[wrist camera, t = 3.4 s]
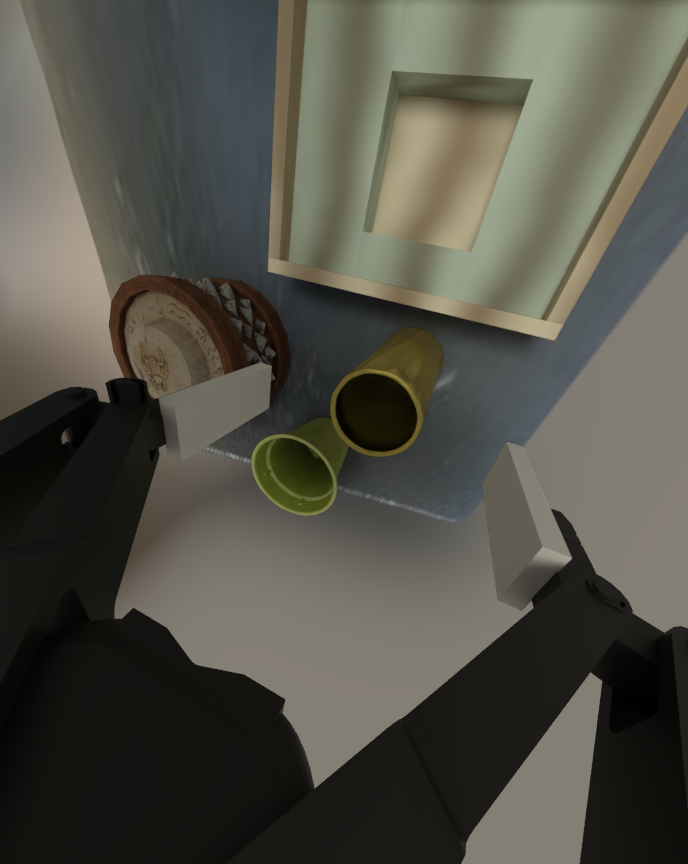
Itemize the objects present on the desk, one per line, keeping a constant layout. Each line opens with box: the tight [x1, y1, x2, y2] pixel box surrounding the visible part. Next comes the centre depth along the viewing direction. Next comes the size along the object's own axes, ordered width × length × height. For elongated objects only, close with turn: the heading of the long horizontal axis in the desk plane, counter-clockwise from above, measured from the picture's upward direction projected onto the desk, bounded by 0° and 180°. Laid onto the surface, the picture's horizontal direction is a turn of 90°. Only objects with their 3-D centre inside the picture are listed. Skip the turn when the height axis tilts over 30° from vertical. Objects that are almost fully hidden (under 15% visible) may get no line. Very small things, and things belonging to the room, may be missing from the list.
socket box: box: [268, 0, 688, 340], centre depth 19 cm, size 22×16×5 cm
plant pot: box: [252, 417, 349, 515], centre depth 31 cm, size 9×9×9 cm
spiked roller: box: [109, 272, 290, 400], centre depth 29 cm, size 15×11×15 cm
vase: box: [330, 327, 443, 457], centre depth 21 cm, size 6×6×14 cm
